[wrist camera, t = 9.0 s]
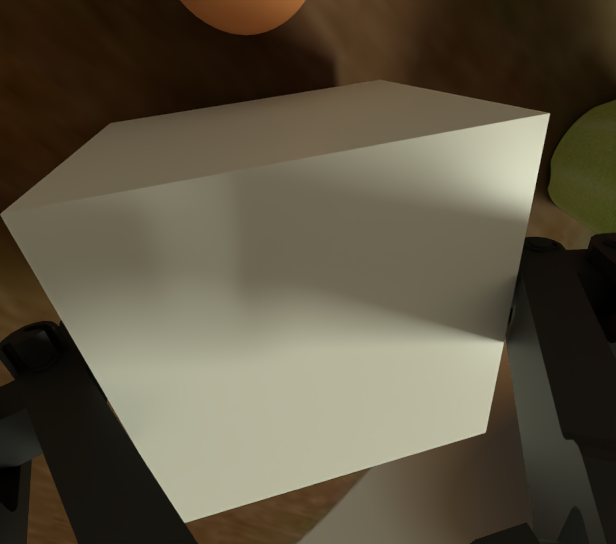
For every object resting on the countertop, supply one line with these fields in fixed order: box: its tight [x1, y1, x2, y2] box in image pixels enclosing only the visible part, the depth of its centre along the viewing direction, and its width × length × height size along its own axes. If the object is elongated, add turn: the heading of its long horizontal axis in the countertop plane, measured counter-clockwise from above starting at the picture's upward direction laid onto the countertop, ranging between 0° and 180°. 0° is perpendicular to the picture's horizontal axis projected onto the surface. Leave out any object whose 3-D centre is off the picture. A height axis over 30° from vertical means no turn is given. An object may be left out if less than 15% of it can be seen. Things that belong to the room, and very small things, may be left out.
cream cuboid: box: [0, 80, 550, 523], centre depth 13 cm, size 10×10×9 cm
